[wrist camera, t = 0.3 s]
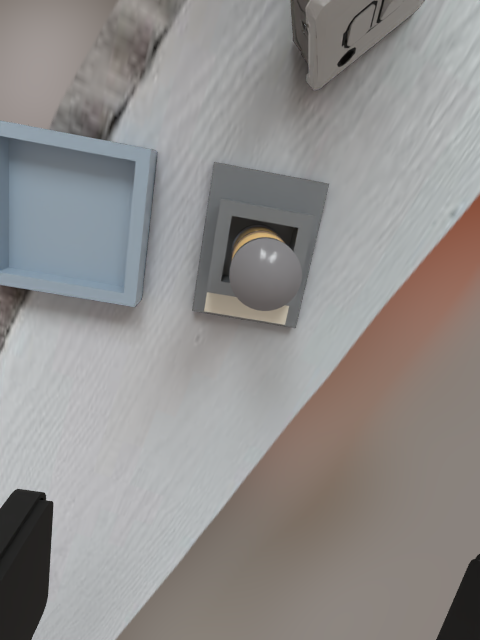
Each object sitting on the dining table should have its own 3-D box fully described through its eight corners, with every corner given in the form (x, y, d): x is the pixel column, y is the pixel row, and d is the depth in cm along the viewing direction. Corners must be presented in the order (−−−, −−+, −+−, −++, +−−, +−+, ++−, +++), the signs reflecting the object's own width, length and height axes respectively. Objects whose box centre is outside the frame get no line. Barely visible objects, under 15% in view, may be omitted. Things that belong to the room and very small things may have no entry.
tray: (-1, 122, 31) (-20, 116, 29) (157, 151, 32) (151, 149, 29) (0, 275, 35) (-17, 282, 32) (141, 298, 35) (135, 307, 33)
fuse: (236, 219, 32) (236, 233, 23) (288, 229, 33) (309, 246, 23) (227, 271, 34) (223, 304, 24) (277, 279, 34) (293, 316, 24)
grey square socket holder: (214, 162, 32) (212, 159, 29) (326, 183, 33) (336, 183, 29) (193, 307, 36) (188, 320, 32) (294, 324, 36) (299, 338, 33)
